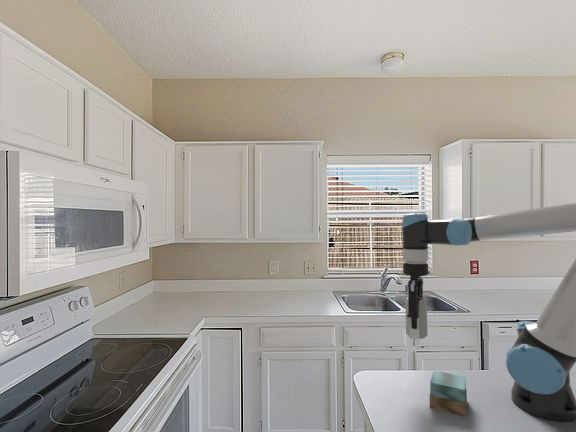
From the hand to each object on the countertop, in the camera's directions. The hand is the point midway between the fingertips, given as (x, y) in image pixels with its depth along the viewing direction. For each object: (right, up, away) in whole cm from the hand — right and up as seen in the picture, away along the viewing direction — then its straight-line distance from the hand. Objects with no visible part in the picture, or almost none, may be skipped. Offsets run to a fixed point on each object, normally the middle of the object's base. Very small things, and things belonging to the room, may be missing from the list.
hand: (416, 334), depth 105 cm
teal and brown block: (+5, -16, -10) cm, 20 cm away
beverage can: (0, -1, 0) cm, 1 cm away
